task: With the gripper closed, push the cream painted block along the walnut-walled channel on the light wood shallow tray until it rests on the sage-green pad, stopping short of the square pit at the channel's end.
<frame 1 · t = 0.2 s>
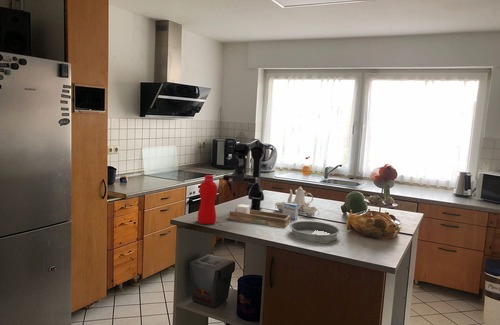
hand: (239, 194, 213), 14 cm above the kitchen island, fingers open, 9 cm apart
cake pan: (313, 236, 192), on the kitchen island
light wood shallow tray: (259, 220, 214), on the kitchen island
medicine box: (289, 218, 223), on the kitchen island
cream block: (242, 214, 217), point 2 cm above the kitchen island, touching light wood shallow tray
chinaware: (297, 213, 238), on the kitchen island
water bottle: (206, 222, 205), on the kitchen island
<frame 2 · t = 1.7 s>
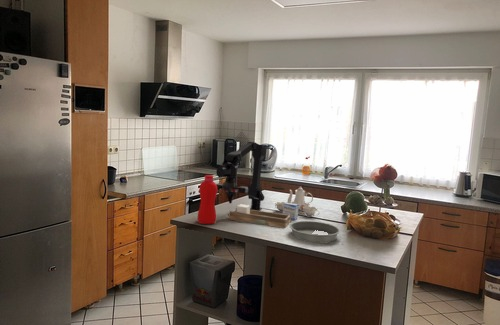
hand: (230, 203, 219), 7 cm above the kitchen island, fingers closed
nothing on the kitchen island moved.
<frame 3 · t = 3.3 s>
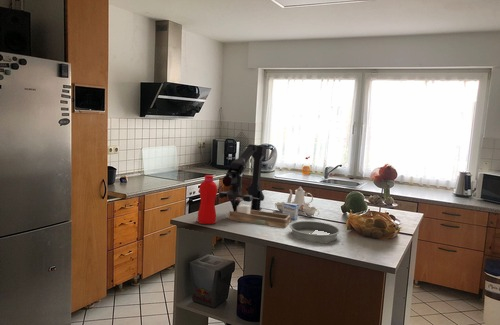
hand: (234, 211, 218), 3 cm above the kitchen island, fingers closed
cream block: (243, 214, 217), point 2 cm above the kitchen island, touching light wood shallow tray, gripper
everything else where it was.
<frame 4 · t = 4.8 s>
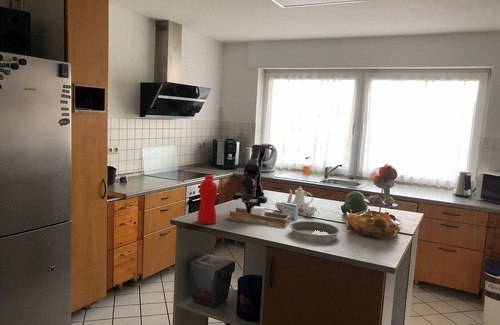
hand: (248, 213, 216), 3 cm above the kitchen island, fingers closed
cream block: (257, 216, 214), point 2 cm above the kitchen island, touching light wood shallow tray, gripper
everything else where it was.
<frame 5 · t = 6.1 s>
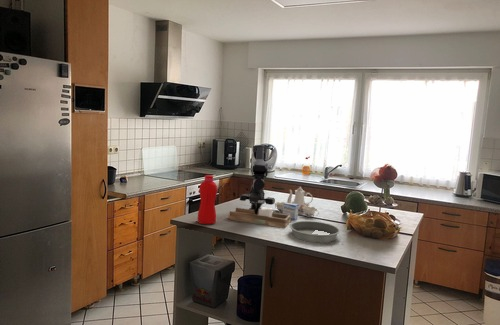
hand: (256, 214, 215), 3 cm above the kitchen island, fingers closed
cream block: (265, 217, 213), point 2 cm above the kitchen island, touching light wood shallow tray, gripper
everything else where it was.
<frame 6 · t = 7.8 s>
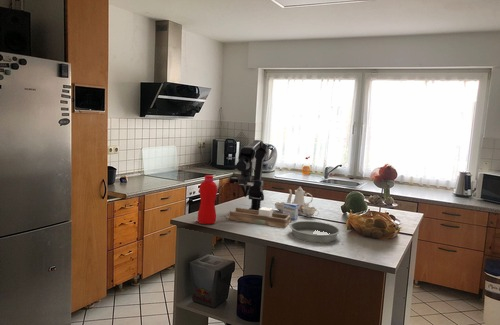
hand: (245, 196, 218), 12 cm above the kitchen island, fingers closed
cream block: (265, 217, 213), point 2 cm above the kitchen island, touching light wood shallow tray
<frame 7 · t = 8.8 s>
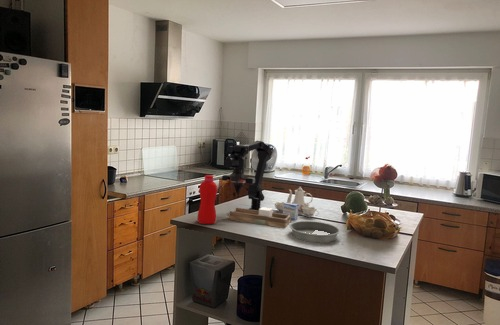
hand: (237, 193, 223), 12 cm above the kitchen island, fingers closed
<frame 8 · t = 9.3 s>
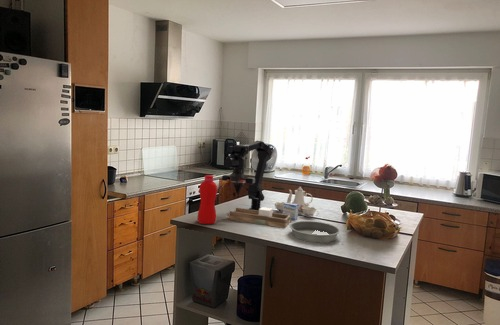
hand: (237, 193, 223), 12 cm above the kitchen island, fingers closed
at the end: cream block inside the target area (0.8 cm from its centre), point 2.0 cm above the kitchen island; cream block tilted 0° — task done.
